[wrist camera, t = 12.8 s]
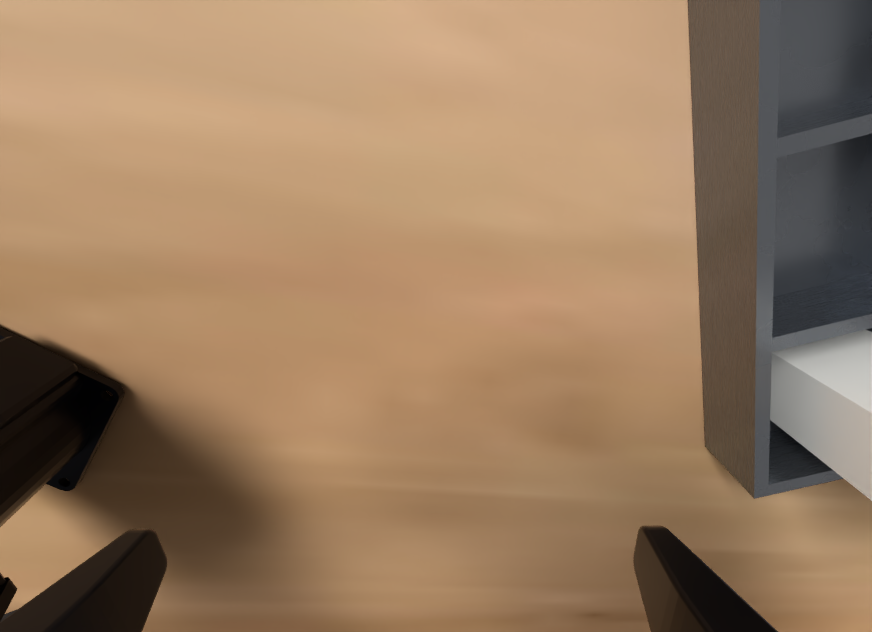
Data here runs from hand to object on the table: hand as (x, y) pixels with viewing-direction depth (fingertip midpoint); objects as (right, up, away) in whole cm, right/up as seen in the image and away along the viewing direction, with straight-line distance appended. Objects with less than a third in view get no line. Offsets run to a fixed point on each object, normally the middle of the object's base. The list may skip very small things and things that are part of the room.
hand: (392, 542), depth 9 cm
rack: (+16, +8, +10) cm, 21 cm away
